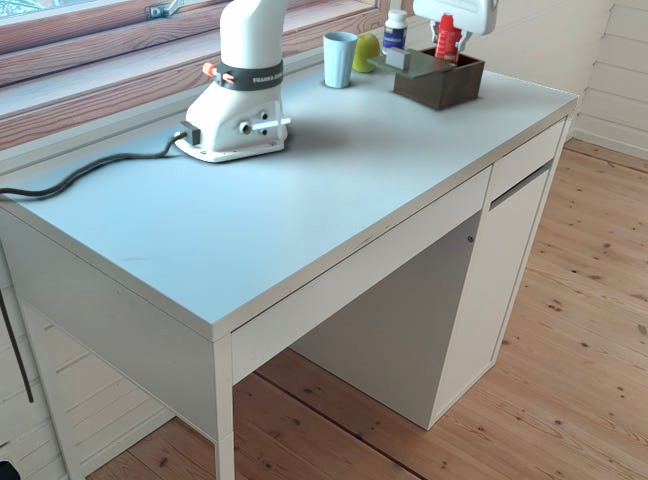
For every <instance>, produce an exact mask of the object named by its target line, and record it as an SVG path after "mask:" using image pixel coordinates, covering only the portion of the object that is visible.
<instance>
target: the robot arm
mask: <svg viewBox="0 0 648 480" xmlns="http://www.w3.org/2000/svg"><path fill="white" fill-rule="evenodd" d="M291 2H292V0H233V1H231V2H229V4H227V6H226V7H224V9H223V11H222V13H221V16H220V46H221V47H220V49H221V50H220V52H221V53H220V55H221V57H220V58H219V60H218V63H217V66H216V65H215V64H212V63H211V62H205V63H204V64H203V66H202V72H203V73H204V74H205V75H208V76H209V77H213V82H212V83H211V84H210V85H209V87H207V88H206V90H204V92H203V93H202V94H200V96H199V97H198V98H197V99H196V100H195V101H194V102H193V103H192V104H191V105H190V106H189V108H188V109H187V113H186V117H185V118H186V119H185V120H183V121H179V122H178V130H179V131H178V132H176V133H175V134H174V136H173V137H172V138H170V139H169V140H168V141H166V144H165V145H164V148H163V149H162V150H160V151H158V152H156V153H149V154H144V153H135V152H116V153H112V154H108V155H104V156H101V157H99V158H96V159H94V160H91V161H90V162H87V163H85V164H83V165H81V166H80V167H78V168H75V169H74V170H72V171H71V172H69V173H68V174H67V175H65V176H64V178H62V179H61V180H60V181H59V182H58V183H56V184H55V185H53V186H50V187H48V188H46V189H45V188H44V189H42V190H41V189H40V190H26V189H21V188H13V187H0V195H2V194H11V195H17V196H18V195H19V196H24V197H34V198H38V197H45V196H47V195H48V196H49V195H51V194H54V193H55V192H58V191H59V190H61V189H62V188H64V187H65V186H66V185H67V184H68V183H69V182H70V181H72V180H73V179H74V178H76V177H77V176H78V175H80V174H83V173H84V172H86V171H88V170H90V169H92V168H93V167H96V166H98V165H100V164H102V163H105V162H106V163H107V162H109V161H112V160H116V159H141V160H142V159H143V160H144V159H147V160H148V159H160V158H161V157H164V156H166V155H167V154H168V153H169V151H170V149H171V147H172V145H174V144H175V145H176V146H177V147H178V148H179V149H180V150H181V151H183V152H185V154H188V155H190V156H191V157H193V158H196V159H198V160H202V161H204V162H209V163H221V162H227V161H232V160H236V159H242V158H246V157H251V156H257V155H263V154H268V153H272V152H278V151H282V150H284V149H285V141H286V139H287V138H288V134H289V133H288V130H287V126H286V124H289V123H291V118H288V117H287V118H285V117H284V116H285V115H284V108H283V98H282V97H283V96H282V95H283V94H282V82H283V81H284V60H283V58H282V50H283V49H282V48H283V47H282V46H283V33H284V24H285V18H286V14H287V10H288V8H289V5H290V3H291ZM499 2H500V0H413V2H412V3H413V4H412V10H413V13H414V15H416V16H418V17H421V18H425V19H427V20H430V23H429V27H430V30H431V34H432V37H431V38H432V39H431V43H432V44H436V45H437V39H438V33H439V28H440V22H441V17H442V16H443V15H444V13H446V14H450V15H453V16H452V17H453V20H454V22H453V26H454V27H456V28H459V29H462V32H461V35H463V36H462V38H461V40H460V41H457V42H456V43H455V48H454V49H455V50H456V51H459V53H461V52H464V51H465V49H466V45H467V42H468V41H469V40H470V38H471V37H472V36H473V34H475V35H478V36H483V37H484V36H486V35H490V34H492V33H493V32H494V31H495V29H496V25H497V19H498V8H499V7H498V5H499ZM0 311H1V315H2V318H3V321H4V325H5V327H6V330H7V333H8V336H9V340H10V343H11V346H12V349H13V352H14V355H15V358H16V362H17V364H18V369H19V371H20V374H21V378H22V381H23V384H24V387H25V391H26V394H27V398H28V402H29V403H30V404H32V403H34V402H35V400H34V395H33V392H32V389H31V385H30V382H29V377H28V374H27V372H26V368H25V365H24V362H23V358H22V355H21V352H20V349H19V346H18V343H17V340H16V337H15V334H14V330H13V327H12V324H11V321H10V317H9V314H8V310H7V307H6V303H5V300H4V296H3V293H2V289H1V288H0Z"/></svg>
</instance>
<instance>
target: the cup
mask: <svg viewBox="0 0 648 480" xmlns="http://www.w3.org/2000/svg"><path fill="white" fill-rule="evenodd" d="M357 36H358V35H356V34H354V33H352V32H347V31H329V32H326V33H324V34H323V57H324V58H323V59H324V60H323V61H324V62H323V63H324V81H325V82H324V83H325V85H326V86H328V87H330V88H334V89H342V88H347V87H349V84H350V79H351V76H352V75H351V74H352V71H353V70H352V69H353V67H352V65H353V60H354V55H355V50H356V45H357V40H358V37H357Z"/></svg>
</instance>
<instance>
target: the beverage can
mask: <svg viewBox="0 0 648 480" xmlns="http://www.w3.org/2000/svg"><path fill="white" fill-rule="evenodd" d="M452 16H453V15H450V14H446V13H444V15H443V16H442V17H441V22H440V25H439V33H438V39H437V44H436V51H435V57H436V58H439V59H441V60H444V61H447V62H450V63H453V64H456V65H457V61H458V56H459V53H460V52H459V51H456V50H455V49H454V48H455V43H456V42H457V41H460V40H461V38H462V37H463V35H461V32H462V29H459V28H456V27H454V26H453V22H454V20H453V17H452Z"/></svg>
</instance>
